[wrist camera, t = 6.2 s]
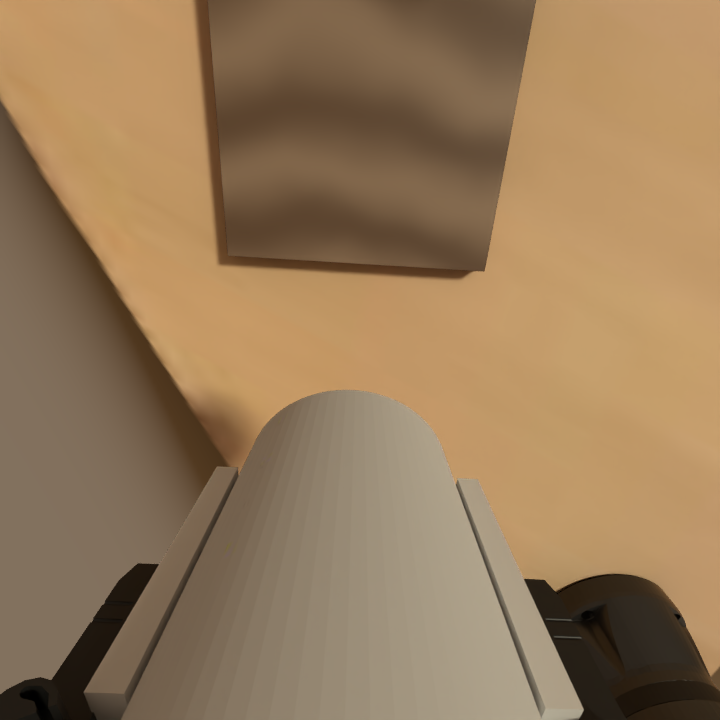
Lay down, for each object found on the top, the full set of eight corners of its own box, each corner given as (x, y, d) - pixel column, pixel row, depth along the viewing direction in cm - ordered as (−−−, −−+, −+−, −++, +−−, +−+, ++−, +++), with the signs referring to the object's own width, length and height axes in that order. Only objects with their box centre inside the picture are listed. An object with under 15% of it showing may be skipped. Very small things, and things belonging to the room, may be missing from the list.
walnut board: (477, 268, 26) (484, 271, 24) (235, 253, 25) (227, 255, 24) (529, -17, 20) (542, -35, 18) (213, -43, 19) (202, -64, 18)
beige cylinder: (222, 510, 15) (-181, 1347, 4) (296, 354, 12) (-313, 1595, 1) (387, 570, 16) (444, 1321, 5) (485, 441, 14) (1040, 1410, 3)
